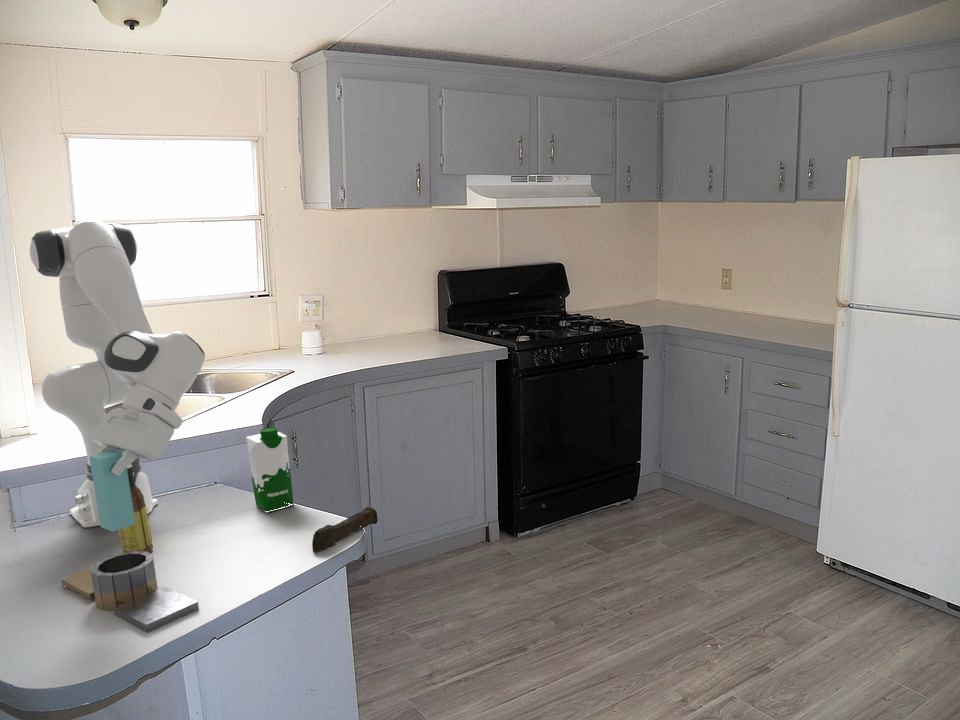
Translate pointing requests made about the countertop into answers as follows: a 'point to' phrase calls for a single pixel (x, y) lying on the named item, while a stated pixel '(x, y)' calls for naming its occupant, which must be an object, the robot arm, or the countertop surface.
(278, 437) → the milk carton
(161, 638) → the countertop surface
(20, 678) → the countertop surface
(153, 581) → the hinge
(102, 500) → the teal square block
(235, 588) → the countertop surface
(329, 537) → the hand tool
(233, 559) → the countertop surface
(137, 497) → the sauce bottle
